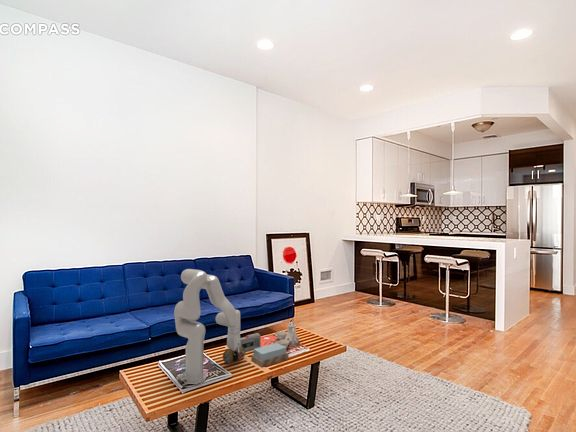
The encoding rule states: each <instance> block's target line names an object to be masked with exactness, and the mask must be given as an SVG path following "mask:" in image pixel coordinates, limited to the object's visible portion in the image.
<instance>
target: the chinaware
mask: <svg viewBox="0 0 576 432" xmlns="http://www.w3.org/2000/svg"><path fill="white" fill-rule="evenodd" d="M286 326H287V331H285V330H282V331H276V332H275V335H276V337H277V339H278V340H277V341H276V343H278V344H280V345H282V346H284V347H286V349H287V348H288V347H297V346H298V344H299V342H300V337H299V336H298V334H297V332H296V328H297V324H296V323H293V321H290V322H289V323H288V324H286ZM288 345H289V346H288ZM296 345H297V346H296Z"/></svg>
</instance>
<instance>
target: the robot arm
mask: <svg viewBox="0 0 576 432" xmlns="http://www.w3.org/2000/svg"><path fill="white" fill-rule="evenodd" d="M180 279H181V281H182V283H184V284H186V287H185V288H184V290H183V293H182V299H183V300H181V301H178V302H177V303H176V305H175V307H174V311H173V315H174V322H175V323H174V324H175V331H176V333H177V335H178V336H180V337H183V338H186V339H188V340H187V343H186V344H185V371H183V373H182V374H181V375H177V376H175V377H176V381H179V380H180V381H181V382H182V383H183V382H184V383H183V384H185V383H186V384H185V385H187V384H196V385H199V384H198V383H200V384H202V383H204V382H205V381H206V380H207V375H206V374H205V373H204V345H205V344H204V341H205V338H206V337H205V335H206V326H205V325H204V324H203V323H201V322H199V321H197V320H199V319H200V317H201V313H202V311H201V303H200V291H201V290H202V289H203V290H206V292H207V295H208V299H209V301H210V303H211V304H212V305H213V306H214V307H216V308H217V309H218V310H220V312H218V313H217V314H216V316H215V322H216V324H218V325H220V326H225V327H227V337H226V348H227V349H231V350H232V351H233V352H234V355H233V363H235V362H234V361H236V362H239V361H238V353H239V352H240V348H241V340H240V338H241V310H239V309H235V306H234V304H232V302H230V300H229V299H228V298H227V297H226V296H225V293H224V291H223V289H222V285H221V283H220V280H219V278H218V277H217V276H216V275H213V274H207V273H206V272H205V271H203V270H201V269H193V268H187V269H184V270H183V271H182V272H181V275H180ZM235 351H236V352H235ZM203 381H204V382H203ZM201 382H202V383H201Z"/></svg>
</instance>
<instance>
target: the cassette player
mask: <svg viewBox="0 0 576 432" xmlns="http://www.w3.org/2000/svg"><path fill="white" fill-rule="evenodd" d="M240 340H241V347H243V348H244V349H245V353H247V352H251V351H254V349H256V348H260V347H262V346H261V341H262V340H261V334H260V333H258V332H257V333H253V334H251V333H250V334H247V335H245V336H244V337H240Z"/></svg>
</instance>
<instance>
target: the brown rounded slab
mask: <svg viewBox="0 0 576 432" xmlns="http://www.w3.org/2000/svg"><path fill="white" fill-rule="evenodd" d="M235 352H236V351H235ZM233 355H234V352H233V351H232V350H231V349H229V348H227V349H226V350H224V351H223V353H222V360H223V361H224V362H225V363H226V364H232V363H236V362H239V361H241V360H242V359H244V357H245V355H246V352H245V349H244V348H243V347H241V348H240V352H239V353H238V361H234V362H233Z"/></svg>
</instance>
